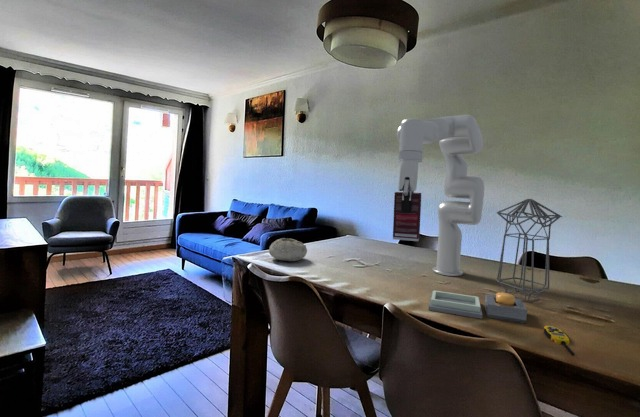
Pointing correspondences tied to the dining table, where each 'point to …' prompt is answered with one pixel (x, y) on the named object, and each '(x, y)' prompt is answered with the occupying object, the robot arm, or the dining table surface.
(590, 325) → the dining table surface
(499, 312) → the button housing
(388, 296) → the dining table surface
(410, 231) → the supplement box
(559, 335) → the yellow black handheld tool
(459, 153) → the robot arm
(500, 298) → the button
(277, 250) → the grey rounded lump
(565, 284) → the dining table surface
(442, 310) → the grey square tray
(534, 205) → the geometric lantern
